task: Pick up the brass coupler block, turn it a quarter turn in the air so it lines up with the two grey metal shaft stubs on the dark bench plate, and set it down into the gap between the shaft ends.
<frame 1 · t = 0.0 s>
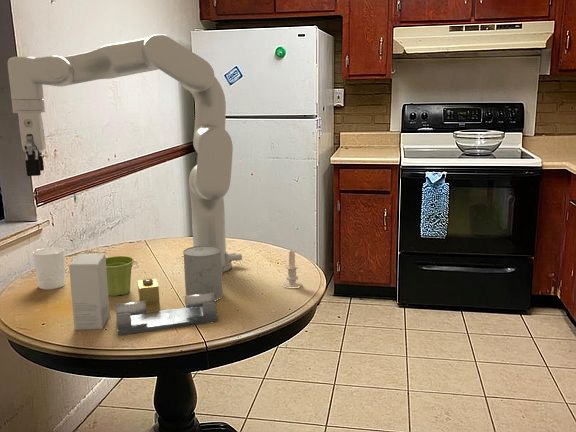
hand: (35, 173, 148), 31 cm above the table, tool pointing down, fingers open, 9 cm apart
coupler: (149, 306, 139), on the table
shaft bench: (166, 321, 130), on the table
skincare box: (93, 323, 130), on the table
plant pot: (118, 293, 149), on the table
white cup: (52, 286, 155), on the table
grey can: (204, 297, 146), on the table
candle: (292, 286, 153), on the table
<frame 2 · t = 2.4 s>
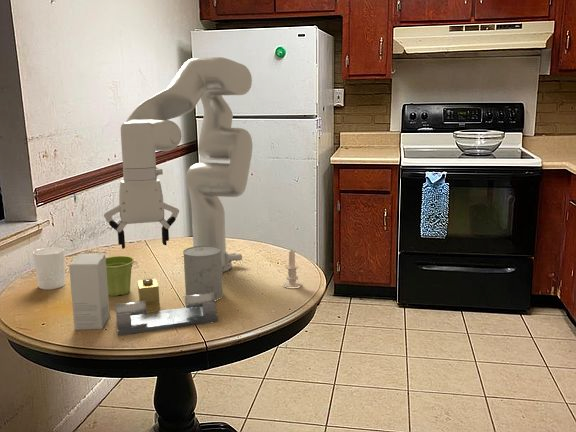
hand: (144, 245, 136), 16 cm above the table, tool pointing down, fingers open, 9 cm apart
nothing on the table moved.
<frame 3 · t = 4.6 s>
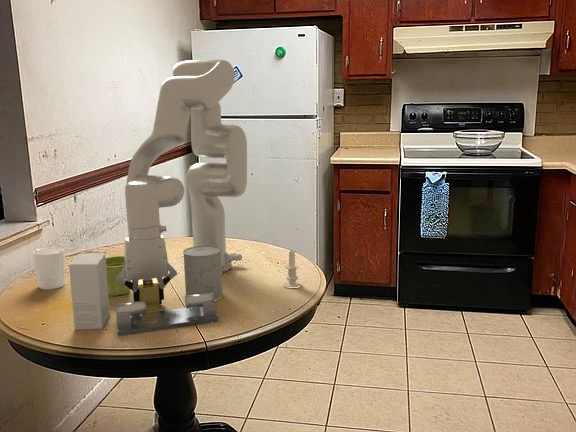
hand: (149, 303, 139), 1 cm above the table, tool pointing down, fingers closed on coupler, 4 cm apart
coupler: (149, 306, 139), on the table, touching gripper
everything else where it was.
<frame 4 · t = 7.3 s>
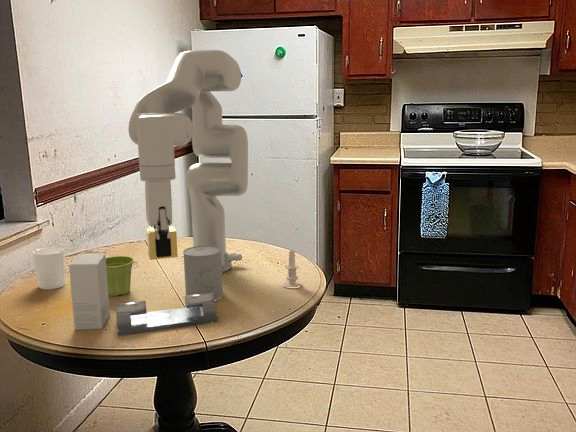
hand: (162, 252, 127), 16 cm above the table, tool pointing down, fingers closed on coupler, 4 cm apart
coupler: (162, 255, 127), point 16 cm above the table, touching gripper
everything else where it was.
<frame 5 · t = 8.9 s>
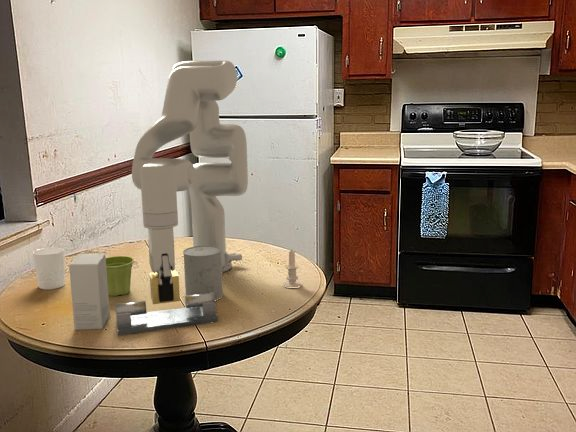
hand: (165, 296, 129), 6 cm above the table, tool pointing down, fingers closed on coupler, 4 cm apart
coupler: (165, 299, 129), point 5 cm above the table, touching gripper
everything else where it was.
when the fingers open (3 cm above the table, at t = 10.3 s): coupler drops 2 cm, resting on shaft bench.
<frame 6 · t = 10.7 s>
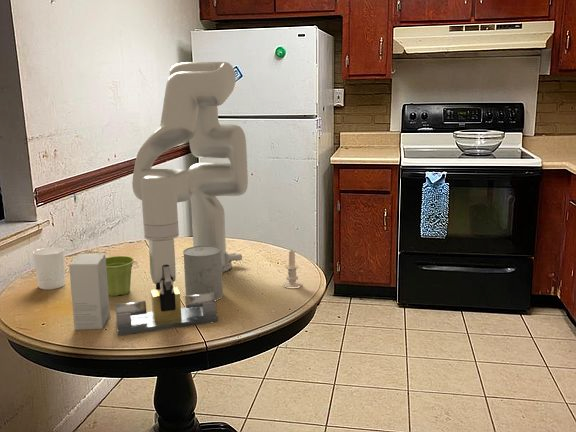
hand: (165, 302, 129), 4 cm above the table, tool pointing down, fingers open, 9 cm apart
coupler: (166, 316, 130), point 1 cm above the table, touching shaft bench
everything else where it was.
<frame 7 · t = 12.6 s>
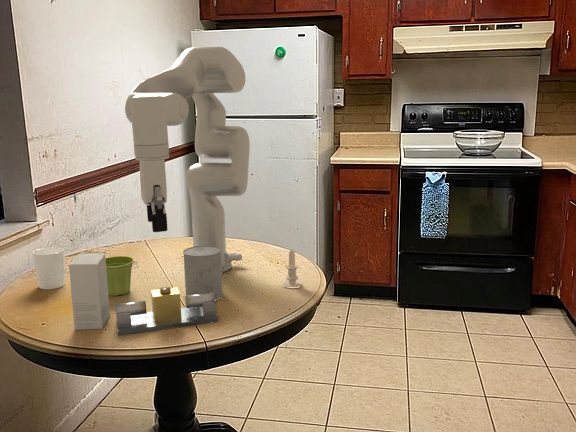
hand: (157, 226, 130), 22 cm above the table, tool pointing down, fingers open, 9 cm apart
nothing on the table moved.
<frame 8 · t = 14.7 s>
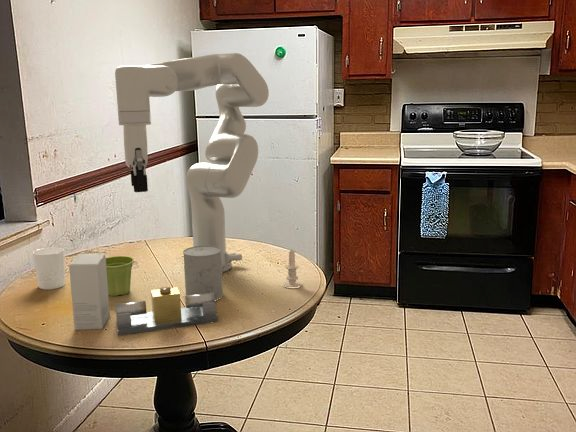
hand: (139, 188, 140), 28 cm above the table, tool pointing down, fingers open, 9 cm apart
nothing on the table moved.
at the end: coupler 0.2 cm off-centre on the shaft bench, point 1.0 cm above the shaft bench's base; coupler tilted 0°; the gripper is holding nothing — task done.
